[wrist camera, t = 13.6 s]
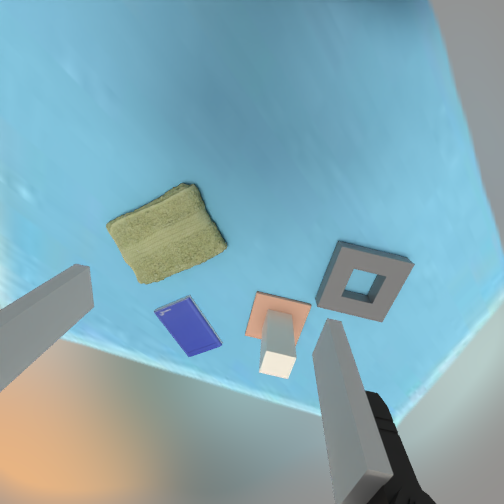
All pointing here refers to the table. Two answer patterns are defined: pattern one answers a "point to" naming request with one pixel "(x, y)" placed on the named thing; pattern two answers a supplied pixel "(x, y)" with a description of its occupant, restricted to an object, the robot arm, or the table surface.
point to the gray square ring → (382, 291)
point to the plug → (277, 344)
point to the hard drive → (188, 326)
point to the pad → (277, 304)
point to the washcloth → (167, 235)
